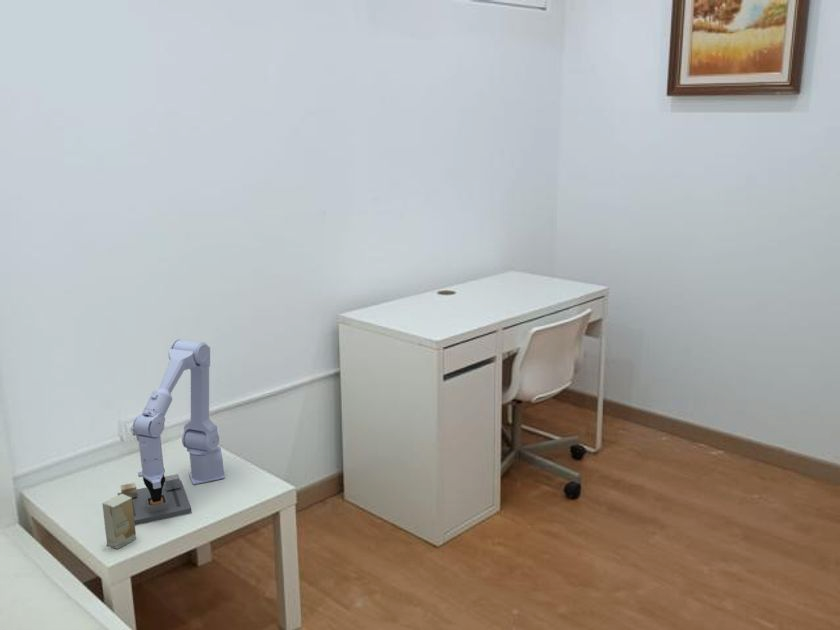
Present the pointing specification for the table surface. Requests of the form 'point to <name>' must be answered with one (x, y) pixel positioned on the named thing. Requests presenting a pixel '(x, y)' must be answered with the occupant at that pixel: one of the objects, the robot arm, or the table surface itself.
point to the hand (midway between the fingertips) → (156, 500)
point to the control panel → (160, 505)
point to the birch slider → (129, 490)
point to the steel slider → (172, 482)
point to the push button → (156, 502)
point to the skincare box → (119, 521)
